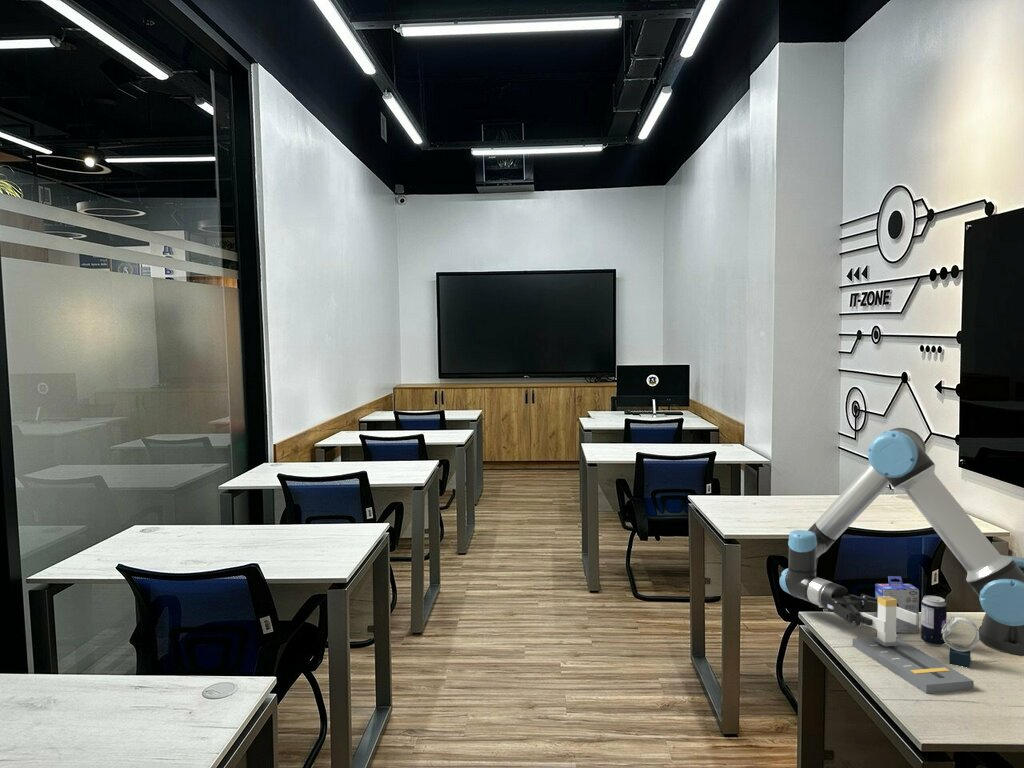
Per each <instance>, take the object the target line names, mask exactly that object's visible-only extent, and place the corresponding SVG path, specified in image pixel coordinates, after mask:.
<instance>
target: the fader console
mask: <svg viewBox="0 0 1024 768" xmlns="http://www.w3.org/2000/svg"><path fill="white" fill-rule="evenodd" d="M874 637H875V636H867V637H865V636H863V637H853V638H852V647H854V648H855V649H857V650H858V651H860V652H862V653H863V654H865V655H866V656H867V657H869V658H871V659H872V660H874V661H876V662H877V663H879V664H880V665H881V666H883V667H884V666H885V667H884V668H886V669H887V668H888V669H887V670H889V671H891V673H892V672H893V673H894V674H895V675H897V676H898V677H900V678H902V679H903V680H904V681H906V682H907V683H909V684H911V685H912V686H914V687H916V688H917V689H918V690H920V691H922V692H923V693H925V694H936V693H937V694H939V693H948V692H957V691H958V692H959V691H970V690H974V686H975V685H974V680H973V679H971V678H969V677H968V676H966V675H964V674H962V673H961V672H959V671H958V670H956V669H953V668H952V667H951V666H948V665H947V664H946V663H943V662H942V661H940V660H938V659H937V658H935V657H933V656H931V655H929V654H927V653H926V652H924V651H922V650H920V649H919V648H917V647H915V646H914V645H912V644H911V643H908V642H907V641H905V640H903V639H901V638H900V637H898V636H896V641H898V642H899V645H898V646H883V645H881V644H880V643H878V642H877V641H875V640H874Z"/></svg>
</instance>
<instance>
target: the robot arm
mask: <svg viewBox="0 0 1024 768" xmlns="http://www.w3.org/2000/svg"><path fill="white" fill-rule="evenodd" d="M926 449H927V448H926V443H925V441H924V440H923V438H922V436H920V434H919V433H917V432H916V431H914V430H912V429H909V428H905V427H895V428H893V429H889V430H886V431H883V432H882V433H879V434H878V435H877V436H876V437H874V438H873V440H872V441H871V442H870V444H869V447H868V449H867V458H868V462H869V463H868V464H867V465H866V467H865V468H864V469H863V470H862V471H861V472H860V473H859V474H858V475H857V476H856V478H855V479H854V480H852V481H851V483H850V484H849V485H848V486H847V487H846V488H845V489H844V491H843V492H842V493H841V494H840V495H839V496H838V497H837V498H836V499H835V500H834V502H833V503H832V504H831V505H830V506H829V507H828V508H827V509H826V510H825V511H824V512H823V513H822V515H820V517H818V519H817V520H816V521H815V522H814V523H813V524H812V525H811V526H810V527H809V528H808V529H807V530H805V529H796V530H795V529H794V530H792V531H790V532H789V535H788V541H787V544H788V568H785V569H784V570H783V571H781V573H780V574H781V575H780V577H779V586H780V588H781V589H782V590H783V591H784V592H785V593H787V594H789V595H791V596H793V598H797V599H801V600H803V601H807V602H808V603H811V604H814V605H816V606H817V607H819V608H820V609H822V608H824V609H826V610H827V611H829V612H832V613H834V614H835V615H836V616H838V617H839V618H841V619H843V621H846V622H847V623H849V624H853V623H854V624H855V626H856V627H860V626H861V624H862V625H864V626H867V627H870V628H871V629H875V630H876V631H877V630H879V631H881V632H884V633H885V632H886V625H887V621H884V620H882V619H879V618H876V616H874V615H871V614H869V613H867V611H870V612H874V613H876V612H878V598H875V597H873V596H870V595H867V594H865V593H861V594H860V596H857V595H856V594H851V593H850V592H849V590H848V588H846V587H845V586H843V585H840V584H838V583H834V582H832V581H830V580H827V579H825V578H821V577H819V576H817V558H819V557H821V555H823V554H825V553H826V552H827V551H829V549H830V548H831V546H832V545H833V544H834V543H835V542H836V540H838V538H840V536H842V534H843V533H844V532H846V530H847V529H848V528H849V527H850V526H851V525H852V523H854V522H855V520H857V519H858V517H859V516H861V515H862V513H863V512H865V510H866V509H867V508H868V507H869V506H870V505H871V504H872V503H873V502H874V501H875V500H876V499H877V498H878V497H879V496H880V495H881V493H882V492H884V490H886V488H887V487H888V486H889V485H891V486H892V487H893V488H894V489H896V490H901V491H903V492H904V493H905V494H906V496H907V497H908V498H909V499H910V500H911V502H912V503H913V504H914V506H916V508H917V509H918V510H919V512H920V513H921V514H922V515H923V517H924V519H925V520H926V521H927V522H928V523H929V524H930V526H931V527H932V528H933V530H934V531H935V532H936V534H937V535H938V536H939V537H940V539H941V540H942V541H943V542H944V544H945V545H946V546H947V547H948V549H949V550H950V552H951V553H952V554H953V556H955V558H956V559H957V560H958V562H959V563H960V564H961V565H962V567H963V568H964V570H965V571H966V572H967V575H966V579H965V580H966V581H967V583H968V585H969V586H970V588H972V589H973V591H974V593H976V594H977V596H978V598H979V602H980V605H981V608H982V610H983V611H984V613H985V614H984V616H983V619H982V621H981V624H980V625H979V627H978V631H979V636H980V638H979V641H980V642H981V643H982V644H983V645H986V646H988V647H990V648H992V649H995V650H997V651H1000V652H1005V653H1008V654H1014V655H1019V656H1024V557H1018V556H1013V555H1002V554H1000V552H999V551H998V550H997V548H995V547H994V545H993V543H991V541H990V540H989V539H988V538H987V537H986V535H985V534H984V533H983V532H982V530H981V529H980V527H978V525H977V524H976V522H974V521H973V519H972V518H971V517H970V516H969V515H968V514H969V513H967V512H966V510H964V508H963V507H962V505H961V504H960V503H959V502H958V501H957V500H956V498H955V496H954V495H952V493H951V492H950V491H949V489H948V488H947V487H946V486H945V485H944V484H943V482H942V481H941V480H940V479H939V477H938V476H937V475H936V474H935V469H936V464H935V463H934V461H933V459H931V458H930V456H929V455H928V454H927V453H926V451H927V450H926ZM896 618H898V619H901V620H903V621H906V622H909V623H911V624H914V625H918V614H916V613H913V612H910V611H908V610H905V609H902V608H899V604H898V603H897V606H896Z"/></svg>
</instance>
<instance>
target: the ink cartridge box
mask: <svg viewBox="0 0 1024 768" xmlns="http://www.w3.org/2000/svg"><path fill="white" fill-rule="evenodd" d="M887 579H888V583H875V584H874V589H875V591H874V594H875V595H874V596H875V597H874V598H878V596H890V597H892V598H894V599H896V600H897V603H898V604H899V608H902V609H905V610H908V611H910V612H913V613H916V614H918V625H914V624H911V623H909V622H906V621H903V620H901V619H898V618H896V633H900V634H901V633H907V634H908V633H909V634H911V633H912V634H914V633H915V634H918V633H920V631H919V630H920V629H919V627H920V626H919V625H920V623H919V621H920V619H919V618H920V609H919V607H920V606H919V605H920V590H919V588H917V587H915V586H914V585H913V584H911V583H903V579H902V576H901V575H900V576H899V575H898V576H895V575H894V576H893V575H891V576H890V575H888V576H887ZM895 579H896V580H899V581H892V580H895ZM875 617H876V618H878V612H875Z"/></svg>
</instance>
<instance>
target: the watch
mask: <svg viewBox="0 0 1024 768" xmlns="http://www.w3.org/2000/svg"><path fill="white" fill-rule="evenodd" d="M960 622H963V623H966V624H969V626H971V627H972V628H973V629H974V630H975V631H976V633H975V636H974V639H972V642H971V643H969V644H968V646H964V645H963V646H962V645H958V644H954V643H953V644H952V643H951V641H949V640H948V638H947V636H949V635H951V634H952V632H953V631H954V630H955V628H956V627H957V625H958V623H960ZM978 630H979V627H978V626H977V625H976V624H975V623H974V622H973V621H972V620H971V619H968V618H965V617H963V616H955V617H953V616H951V617H950V618H949V619H948V620H946V624H945V625H944V627H943V628H942V630H941V633H943V639H944V641H945V644H946V646H948V648H949V654H948V660H949V663H948V664H949V665H951V664H952V666H956V665H958V666H957V667H961V666H963V667H962V668H966V667H967V668H966V669H971V658H972V657H971V656H972V655H971V653H972V652H971V651H972V650H973V649H975V647H976V646H977V645H978V643H979V641H980V640H979V638H980V636H979V631H978Z"/></svg>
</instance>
